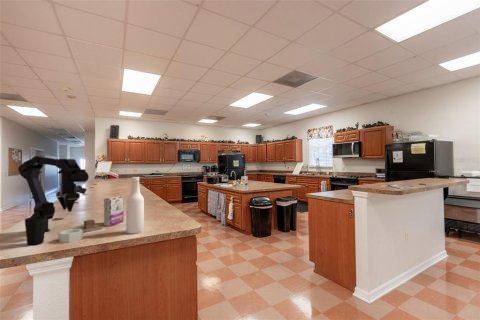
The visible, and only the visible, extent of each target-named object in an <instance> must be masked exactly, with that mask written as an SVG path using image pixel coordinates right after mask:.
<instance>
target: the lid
mask: <svg viewBox="0 0 480 320" xmlns="http://www.w3.org/2000/svg"><path fill="white" fill-rule="evenodd" d="M95 223H96V220H94V219H86V220H83V226H81V227H75V229H82V230H83V233H87V232H91V231H96V230H101V229H103V228H104V227H102V226H101V225H98V224H95Z"/></svg>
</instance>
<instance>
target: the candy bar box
mask: <svg viewBox="0 0 480 320" xmlns="http://www.w3.org/2000/svg"><path fill="white" fill-rule="evenodd" d="M103 204H104V205H103V209H104V211H103V214H104V215H103V219H104V220H103V222H104V223H103V224H104V225H103V226H105V227H112V226H115V225H118V224H120V223H123V222H124V195H123V196H118V195H117V196H114V197H109V198H104V199H103Z"/></svg>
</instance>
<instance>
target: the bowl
mask: <svg viewBox="0 0 480 320" xmlns="http://www.w3.org/2000/svg"><path fill="white" fill-rule="evenodd" d="M82 239H84V235H83V230H82V229H76V228H72V229H71V228H70V229H65V230H62V231H60V232H58V239H57V240H58V242H59V243H60V244H64V243H65V244H66V243H73V242H79V241H80V240H82Z"/></svg>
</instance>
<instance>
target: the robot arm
mask: <svg viewBox="0 0 480 320" xmlns="http://www.w3.org/2000/svg"><path fill="white" fill-rule="evenodd" d="M44 165H48V166H54V167H56V168H57V169H60V170H59V171H57V174H60V184H59V186H60V190H59V191H57V192H56V193H55V197H56V198H57V201H58V202H59V204H60V206H61V207H62V208H61V209H63V210H64V211H65V210H66V209H67V212H69V213H71V212H72V210H73V208H74V204H75V203H76V201H78V200H79V199H80V197H81V196H80V195H81V194H83V195H85V194H86V191H87V188H86V187H83V186H82V185H77V184H76V183H85V182H88V180H89V177H90V175H89V173H88V172H87V170H86V169H84V168H83V169H82V168H81V167H80V166H79V164H78V162H77V161H76V159H74V158H53V157H47V156H43V155H35V156H33V157H32V158H30V159H29V160H26V161H24V162H22V163H21V164H20V165H19V166H18V167H17V168H18V173H19V175H20V176H21V177H22V178H23V179H24V180H26V182H27V185H28V187H29V190H30V193H31V196H32V198H33V201H34V207H33V214H32V215H30V217H37V216H46V217H47V219H46V227H45V233H46V232H50V231H51V229H50V228H49V220H51V219H53V218H54V215H55V212H56V210H55V209H56V207H55V205H54V202H53V201H51V202H49V201H48V199H47V196H46V194H45V191H44V188H43V186H42V183H41V181H40V178H39V177H40V174H41V169H43V167H44Z"/></svg>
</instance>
